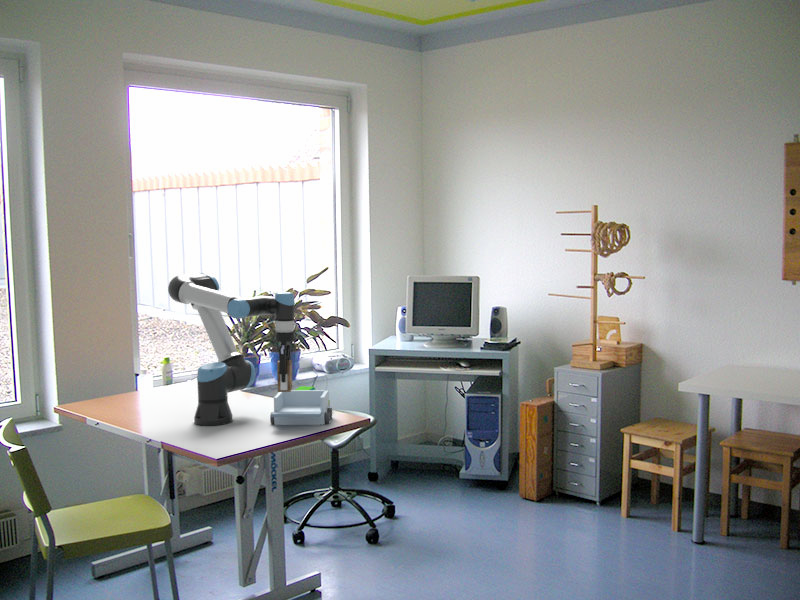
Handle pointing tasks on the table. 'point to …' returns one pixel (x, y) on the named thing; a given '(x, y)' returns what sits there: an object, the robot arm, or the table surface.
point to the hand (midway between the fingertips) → (285, 388)
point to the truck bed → (302, 407)
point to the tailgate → (297, 414)
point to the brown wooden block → (289, 376)
